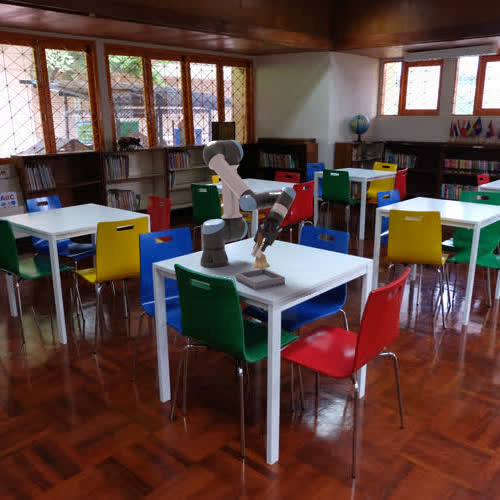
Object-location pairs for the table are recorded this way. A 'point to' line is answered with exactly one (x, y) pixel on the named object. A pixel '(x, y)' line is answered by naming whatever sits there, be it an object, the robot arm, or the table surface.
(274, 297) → the table surface
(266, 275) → the tray
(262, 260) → the hand bell
